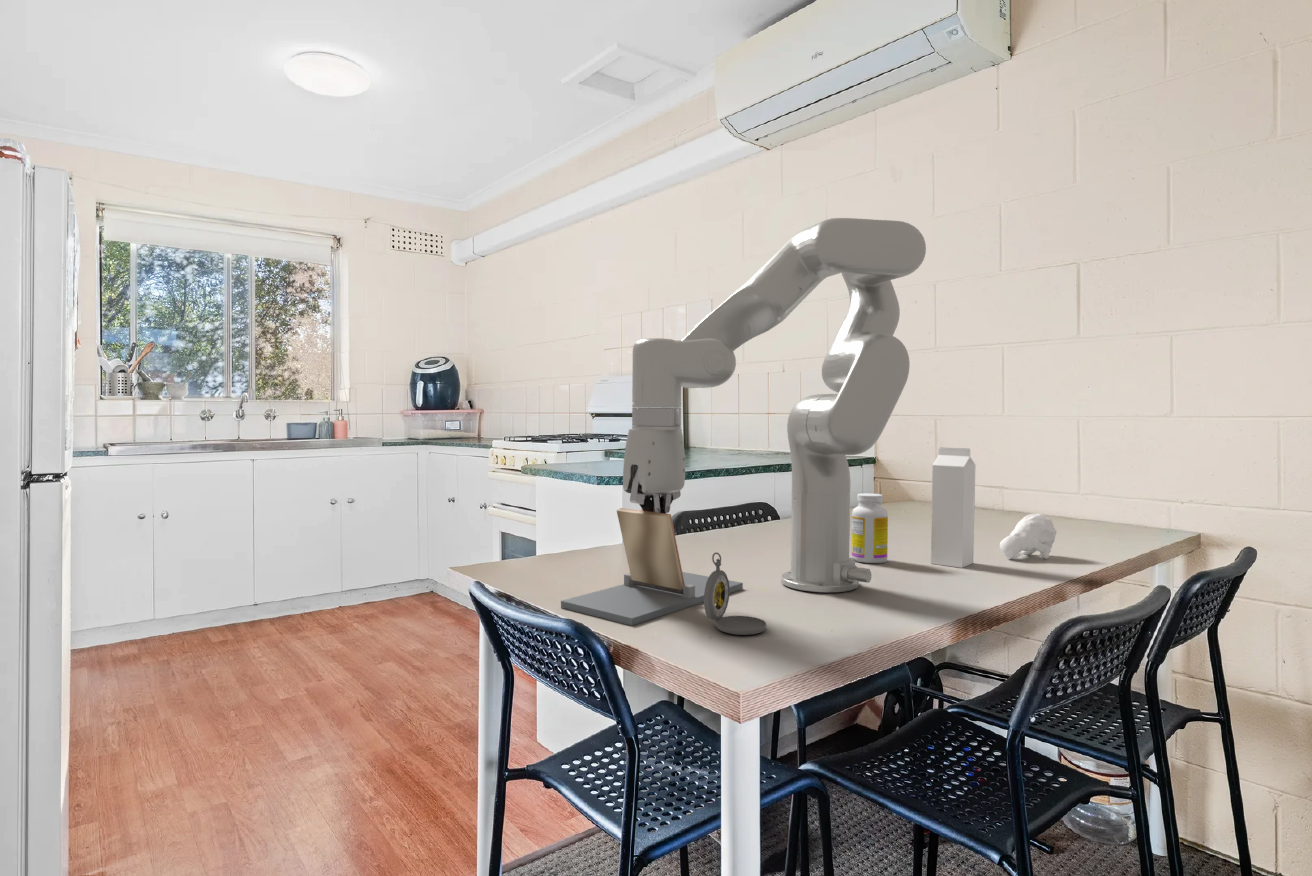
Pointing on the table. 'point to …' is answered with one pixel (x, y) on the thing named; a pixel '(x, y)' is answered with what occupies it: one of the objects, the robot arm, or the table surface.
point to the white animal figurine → (1030, 537)
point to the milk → (953, 508)
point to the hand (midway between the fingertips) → (655, 538)
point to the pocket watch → (720, 590)
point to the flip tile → (651, 550)
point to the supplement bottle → (869, 529)
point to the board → (641, 600)
